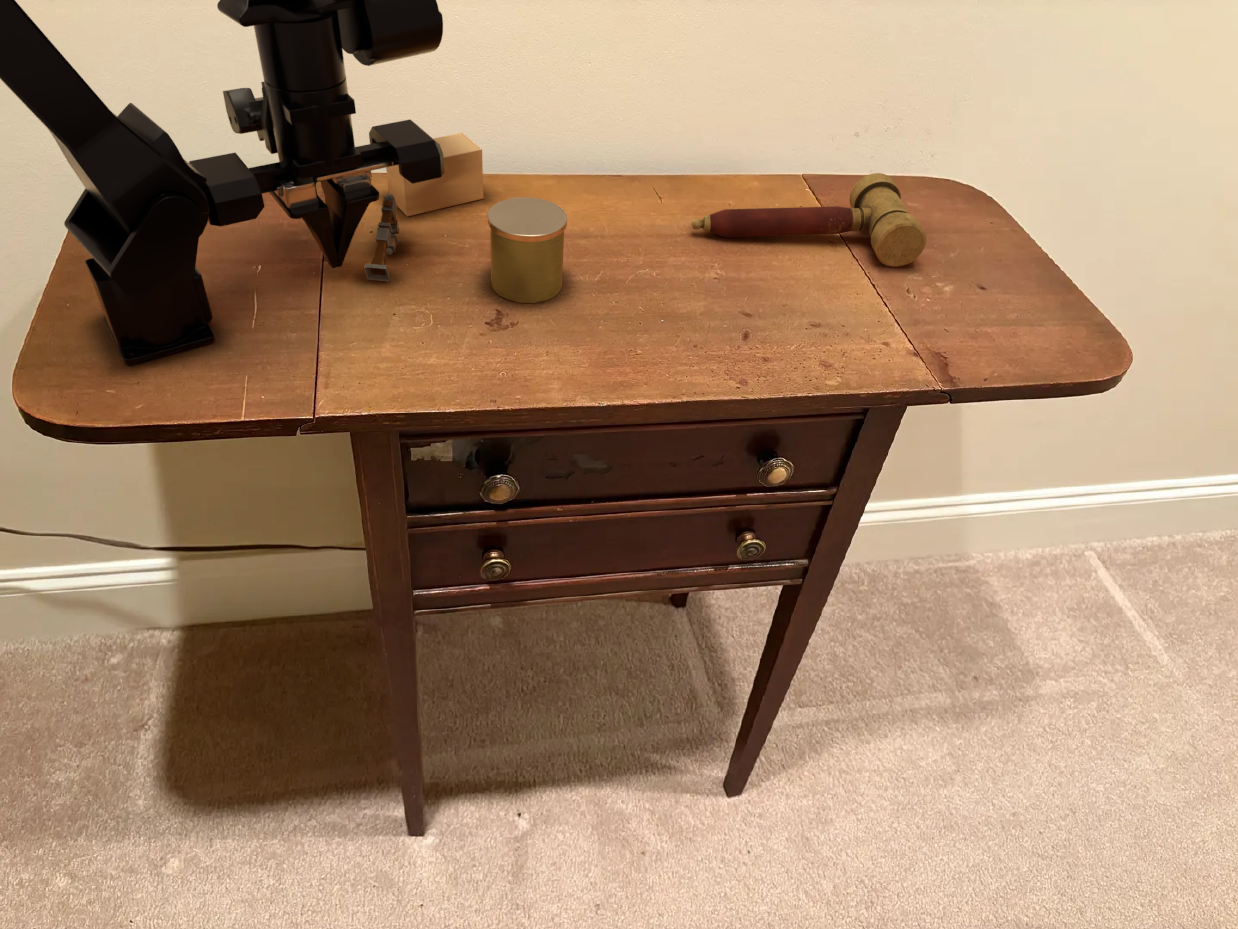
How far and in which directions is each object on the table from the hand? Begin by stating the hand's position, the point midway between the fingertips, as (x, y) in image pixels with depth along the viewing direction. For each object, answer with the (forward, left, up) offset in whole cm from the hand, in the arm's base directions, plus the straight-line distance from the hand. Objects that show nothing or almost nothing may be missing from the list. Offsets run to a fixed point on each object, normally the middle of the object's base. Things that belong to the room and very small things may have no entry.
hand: (334, 265), depth 77 cm
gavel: (+40, -14, -1) cm, 43 cm away
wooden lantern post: (+4, 0, -1) cm, 4 cm away
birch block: (+13, +8, -1) cm, 16 cm away
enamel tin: (+13, -9, -1) cm, 16 cm away
